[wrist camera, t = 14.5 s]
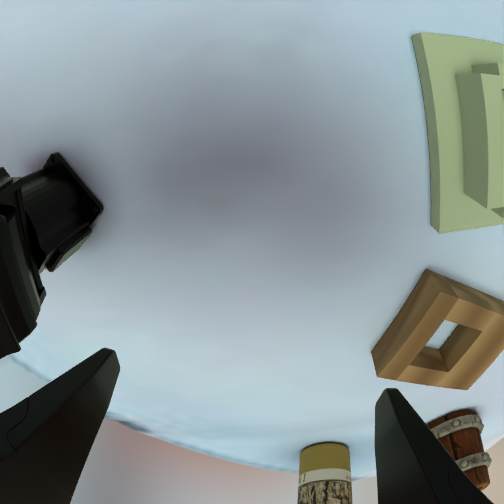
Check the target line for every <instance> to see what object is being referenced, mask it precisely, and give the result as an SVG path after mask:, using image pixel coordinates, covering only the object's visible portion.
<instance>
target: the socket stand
mask: <svg viewBox="0 0 504 504" xmlns="http://www.w3.org/2000/svg"><path fill="white" fill-rule="evenodd" d="M412 41H413V45H414V50H415V54H416V59H417V64H418V69H419V74H420V80H421V85H422V92H423V98H424V105H425V113H426V121H427V130H428V141H429V154H430V172H431V226H432V227H433V228H434V229H435V230H436V231H437V232H438V233H439V234H440V233H447V232H453V231H460V230H467V229H473V228H480V227H487V226H493V225H500V224H504V44H499V43H495V42H490V41H485V40H479V39H473V38H467V37H460V36H452V35H443V34H433V33H418V34H416V35H414V36H412Z"/></svg>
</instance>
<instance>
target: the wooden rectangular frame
mask: <svg viewBox="0 0 504 504" xmlns="http://www.w3.org/2000/svg"><path fill="white" fill-rule="evenodd" d="M444 320H448V321H451V322H454V323H457V324H459V325H458V326H457V327H456V329H455V330H454V331H453V333H452V334H451V335H450V337H449V338H448V339H447V340H446V342H445V343H444V344H443V345H442V347H441V348H440V349H439V350H438V349H433V348H429V347H425V345H426V343H427V342H428V341H429V340H430V338H431V337H432V336H433V334H434V333H435V332H436V330H437V329H438V328H439V326H440V325H441V323H442V322H443V321H444ZM503 349H504V302H503V301H501V300H498V299H496V298H494V297H492V296H489V295H487V294H485V293H482V292H480V291H478V290H475V289H473V288H471V287H468V286H466V285H463V284H461V283H459V282H456V281H454V280H451V279H449V278H446V277H444V276H442V275H439V274H437V273H434V272H432V271H429V270H427V269H426V270H425V272H424V273H423V275H422V277H421V278H420V280H419V282H418V283H417V285H416V287H415V288H414V290H413V291H412V293H411V295H410V296H409V298H408V299H407V301H406V302H405V304H404V306H403V307H402V309H401V310H400V312H399V313H398V315H397V316H396V318H395V319H394V321H393V322H392V323H391V325H390V326H389V328H388V329H387V331H386V332H385V333H384V335H383V336H382V338H381V339H380V340H379V342H378V343H377V345H376V346H375V347H374V349H373V350H372V351H371V353H372V357H373V362H374V366H375V370H376V375H377V377H380V378H386V379H391V380H397V381H403V382H409V383H416V384H422V385H429V386H436V387H444V388H452V389H461V390H468V389H469V388H470V387H471V386H472V385H473V384H474V383H475V381H476V380H477V379H478V378H479V377H480V376H481V375H482V374H483V373H484V372H485V371H486V369H487V368H488V367H489V366H490V365H491V364H492V363H493V361H494V360H495V359H496V358H497V357H498V355H499V354H500V353H501V352H502V351H503Z"/></svg>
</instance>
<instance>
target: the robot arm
mask: <svg viewBox="0 0 504 504" xmlns="http://www.w3.org/2000/svg"><path fill="white" fill-rule="evenodd" d="M54 158H55V159H56V161H55V159H54ZM95 207H97V209H98V211H97V210H96V209H95ZM102 211H103V207H102V205H101V203H100V202H99V201H98V200H97V199H96V197H95V196H94V195H93V194H92V193H91V192H90V191H89V189H88V188H87V187H86V186H85V185H84V183H83V182H82V181H81V180H80V179H79V178H78V176H77V175H76V174H75V173H74V172H73V170H72V169H71V168H70V167H69V165H68V164H67V163H66V162H65V161H64V159H63V158H62V157H61V156H60V154H59V153H53V154H51V155H50V157H49V158H48V160H47V162H46V164H45V165H44V167H43V169H41V170H38V171H36V172H34V173H31V174H29V175H27V176H24V177H22V178H21V177H10V174H8V173H7V172H6V170H5V169H4V167H0V359H1V358H3V357H5V356H6V355H9V354H12V353H16V352H19V351H20V350H21V347H20V345H19V343H20V342H21V341H23V340H24V339H25V338H26V337H27V336H29V335H30V334H31V333H32V331H33V330H34V329H35V328H36V326H37V322H36V319H37V317H38V315H39V312H40V307H41V304H42V302H43V300H44V298H45V296H46V291H45V288H44V286H43V285H42V282H41V278H40V275H39V274H40V273H41V272H42V271H43V270H44V269H46V268H47V270H48V271H49V272H53V271H54V270H55V269H57V268H58V267H59V266H60V265H61V264H62V263H63V262H64V261H66V260H67V259H68V258H69V257H70V256H71V255H72V254H73V253H75V252H76V251H77V250H78V249H79V248H80V247H81V246H82V244H83V243H84V242H85V240H86V239H87V238H88V237H89V235H90V234H91V233H92V228H91V226H92V224H93V223H94V222H95V220H96V219H97V218H98V217H99V215H100V214H101V213H102ZM119 372H120V365H119V361H118V358H117V355H116V352H115V351H114V350H112V349H108V348H102V349H101V350H99V351H98V352H96V353H95V354H93V355H91V356H90V357H88V358H87V359H85V360H84V361H82V362H81V363H79V364H78V365H76V366H75V367H73V368H71V369H70V370H68V371H67V372H65V373H64V374H62V375H61V376H59V377H58V378H56V379H55V380H53V381H52V382H50V383H48V384H47V385H45V386H44V387H42V388H41V389H39V390H38V391H36V392H35V393H33V394H32V395H30V396H29V397H27V398H25V399H24V400H22V401H21V402H19V403H18V404H16V405H14V406H13V407H11V408H9V409H7V410H6V411H4V412H2V413H0V504H70V502H71V499H72V496H73V493H74V491H75V488H76V485H77V483H78V480H79V477H80V475H81V472H82V470H83V467H84V465H85V462H86V460H87V457H88V455H89V452H90V449H91V447H92V445H93V442H94V440H95V437H96V435H97V433H98V430H99V428H100V426H101V423H102V421H103V419H104V416H105V414H106V412H107V409H108V407H109V404H110V401H111V397H112V394H113V391H114V388H115V384H116V381H117V378H118V375H119ZM375 457H376V471H377V486H378V504H493V503H492V502H491V501H490V500H489V499H488V498H487V497H486V496H485V495H484V494H483V493H482V492H481V491H480V490H479V489H478V487H477V486H476V485H475V484H474V483H473V482H472V481H471V480H470V479H469V478H468V477H467V476H466V475H465V473H464V472H463V471H462V470H461V468H460V467H459V466H458V465H457V463H456V462H455V461H454V459H452V457H451V456H450V454H449V453H448V452H447V450H446V449H445V448H444V447H443V445H442V444H441V443H440V442H439V440H438V439H437V438H436V436H435V435H434V434H433V433H432V431H431V430H430V429H429V428H428V426H427V425H426V424H425V422H424V421H423V420H422V419H421V417H420V416H419V415H418V414H417V412H416V411H415V410H414V409H413V407H412V406H411V405H410V404H409V402H408V401H407V400H406V399H405V398H404V396H403V395H402V394H401V393H400V391H399V390H398V389H396V388H386V389H385V390H384V391H383V393H382V394H381V396H380V397H379V399H378V401H377V402H376V406H375Z"/></svg>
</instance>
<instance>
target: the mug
mask: <svg viewBox="0 0 504 504" xmlns="http://www.w3.org/2000/svg"><path fill="white" fill-rule="evenodd" d="M427 426H428V428H429V429H430V430H431V431H432V433H433V434H434V435H435V436H436V438H437V439H438V440H439V442H440V443H441V444H442V445H443V447H444V448H445V449H446V450H447V452H448V453H449V454H450V456H451V457H452V459H454V461H455V462H456V463H457V465H458V466H459V467H460V468H461V470H462V471H463V472H464V473H465V475H466V476H467V477H468V478H469V479H470V480H471V481H472V482H473V483H474V484H475V485H476V486H477V487H478V489H479V490H480V491H481V490H483V489H485V488H486V487H487V486H488V485H489V483H490V479H489V475H488V467H489V465H490V464H491V461H492V460H491V458H490V457H489V454H488V453H487V452H484V449H483V444H482V440H481V435H480V434H481V432H482V429H483V428H484V425H483V424H482V421H481V418H480V417H479V416H477V415H476V414H475V412H473V411H470V410H462V411H456V412H453V413H450V414H447V416H446V418H444V417H443V416H442V417H440V418H438V419H436V420H434V421H432V422H431V423H429V424H428V425H427Z"/></svg>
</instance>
